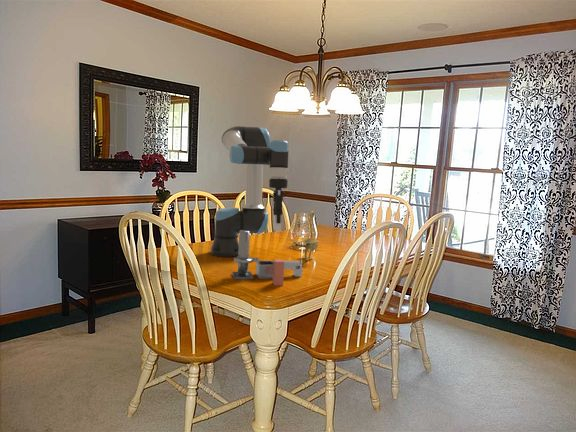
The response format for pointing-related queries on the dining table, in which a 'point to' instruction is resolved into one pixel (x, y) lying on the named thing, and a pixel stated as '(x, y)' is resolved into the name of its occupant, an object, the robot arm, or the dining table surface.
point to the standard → (243, 257)
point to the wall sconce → (310, 240)
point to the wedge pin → (278, 272)
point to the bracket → (266, 268)
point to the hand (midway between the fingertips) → (277, 230)
